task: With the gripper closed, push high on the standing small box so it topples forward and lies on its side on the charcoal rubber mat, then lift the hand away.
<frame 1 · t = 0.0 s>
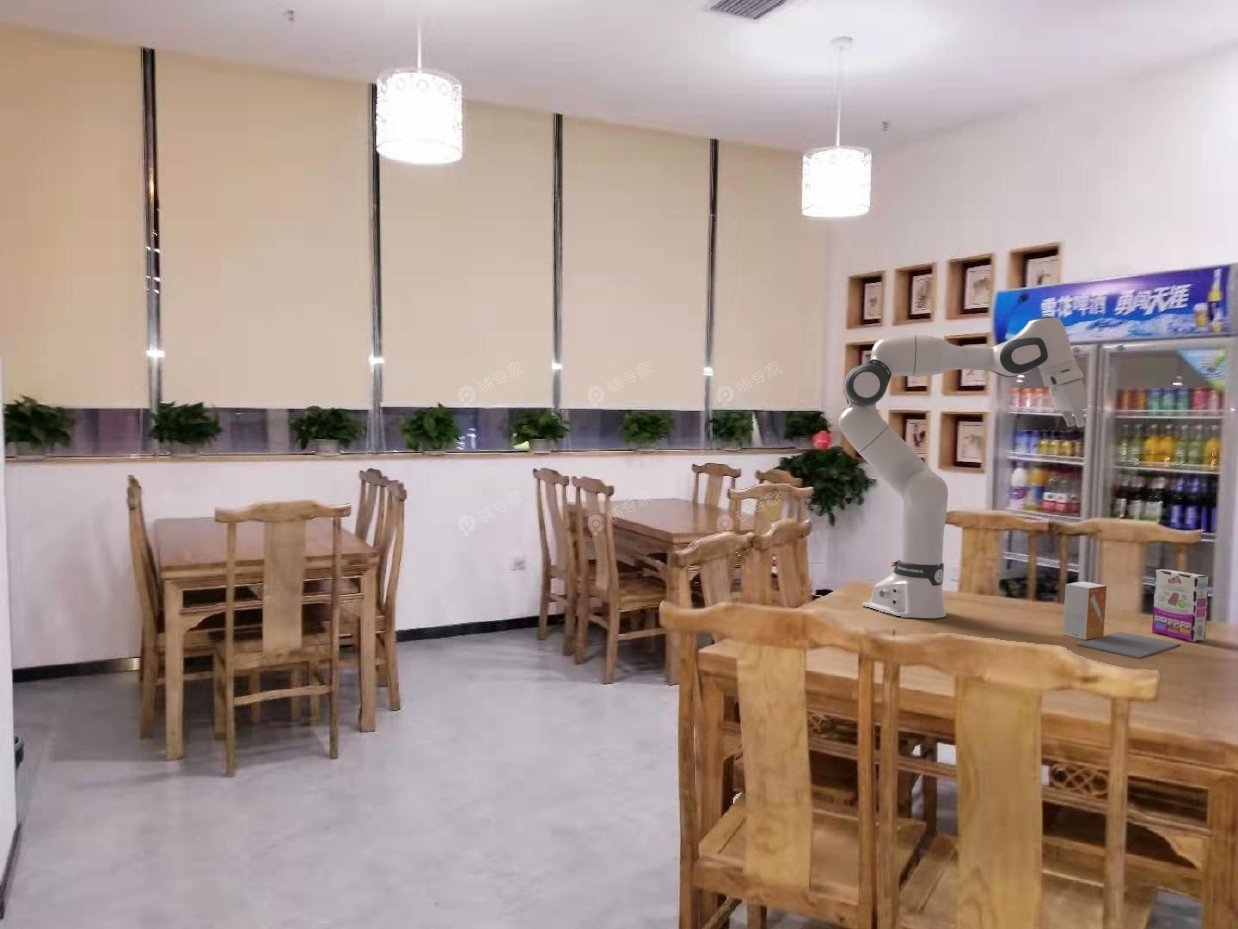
hand: (1076, 426, 243), 52 cm above the table, tool tilted 20°, fingers open, 8 cm apart
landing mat: (1129, 645, 224), on the table
small box: (1083, 636, 233), on the table
candy bar box: (1178, 637, 234), on the table
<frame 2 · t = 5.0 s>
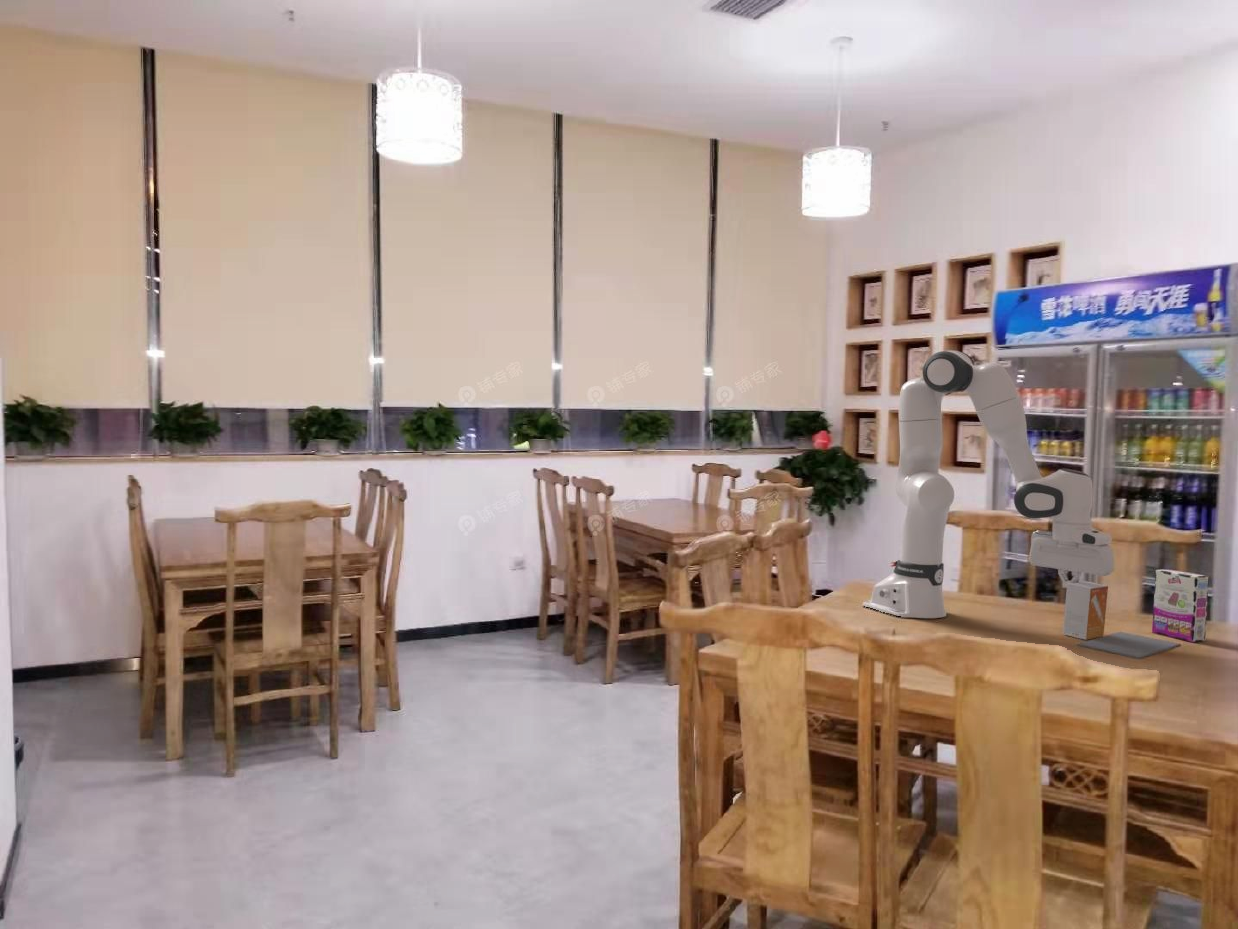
hand: (1069, 588, 236), 11 cm above the table, tool pointing down, fingers closed
small box: (1083, 636, 233), on the table, touching gripper
everything else where it was.
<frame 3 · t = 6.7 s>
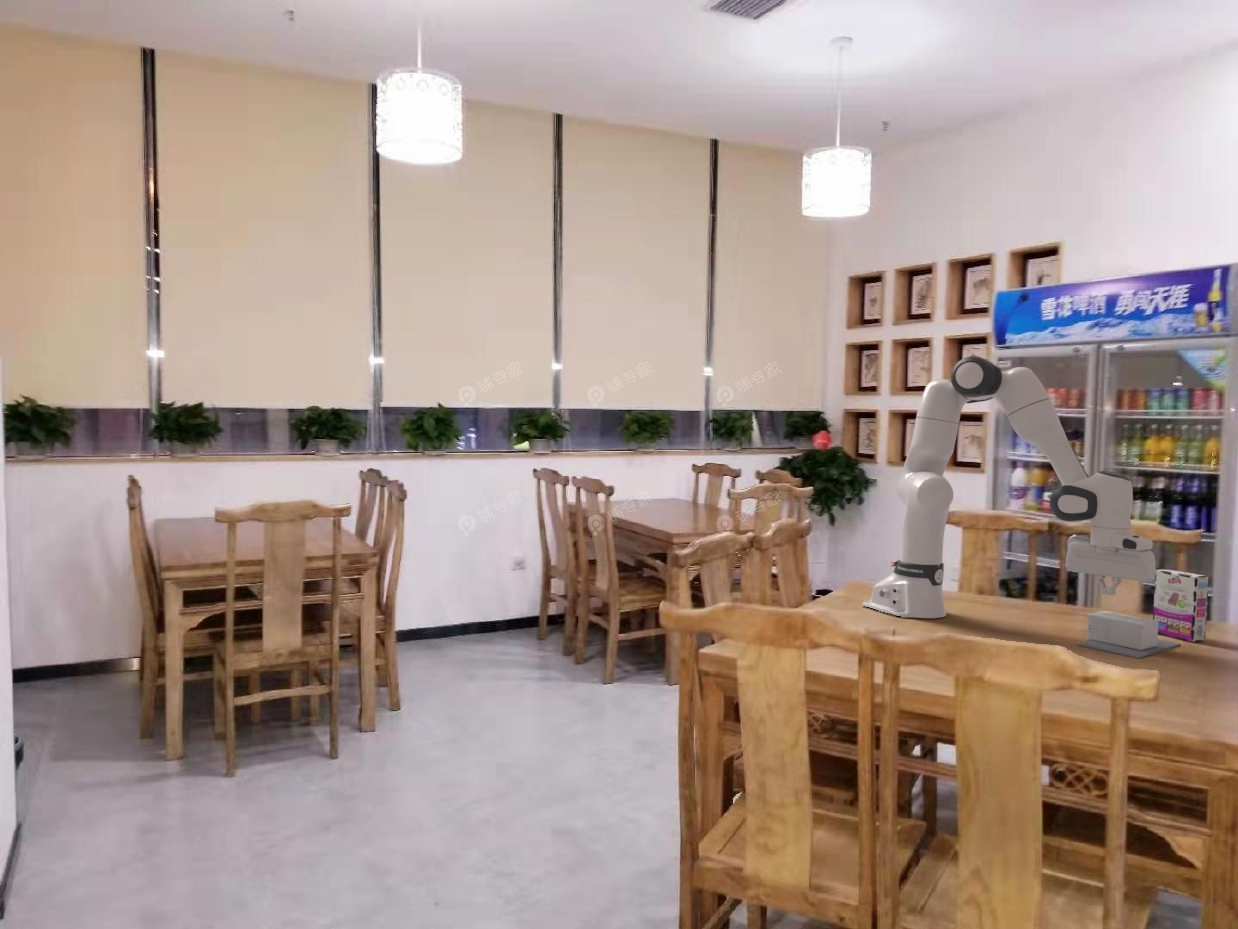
hand: (1107, 594, 228), 11 cm above the table, tool pointing down, fingers closed
small box: (1094, 624, 230), point 3 cm above the table, touching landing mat
everything else where it was.
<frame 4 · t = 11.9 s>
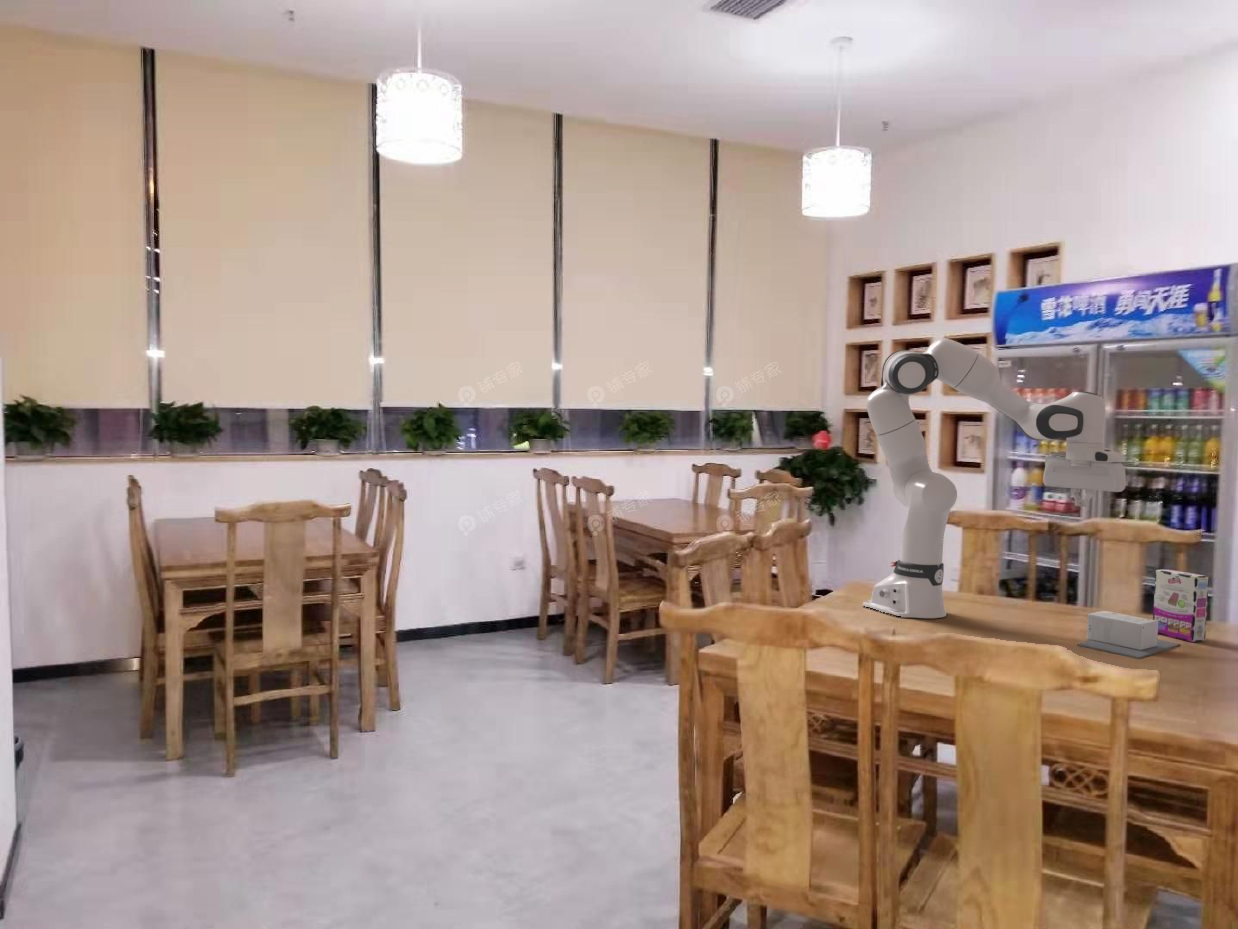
hand: (1081, 506, 244), 31 cm above the table, tool pointing down, fingers closed
nothing on the table moved.
at the end: small box tilted 89°; small box touching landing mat; small box inside the target area (2.8 cm from its centre), point 3.4 cm above the table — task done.
